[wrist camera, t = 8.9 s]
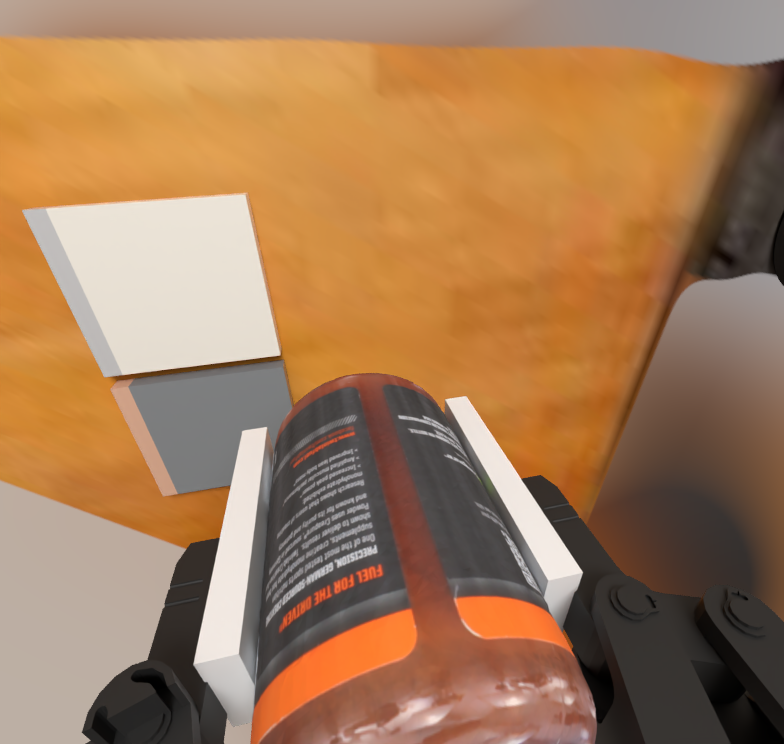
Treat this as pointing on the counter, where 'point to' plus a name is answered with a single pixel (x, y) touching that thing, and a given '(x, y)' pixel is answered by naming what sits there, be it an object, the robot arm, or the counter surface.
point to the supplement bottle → (399, 589)
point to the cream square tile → (161, 280)
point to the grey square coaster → (202, 420)
